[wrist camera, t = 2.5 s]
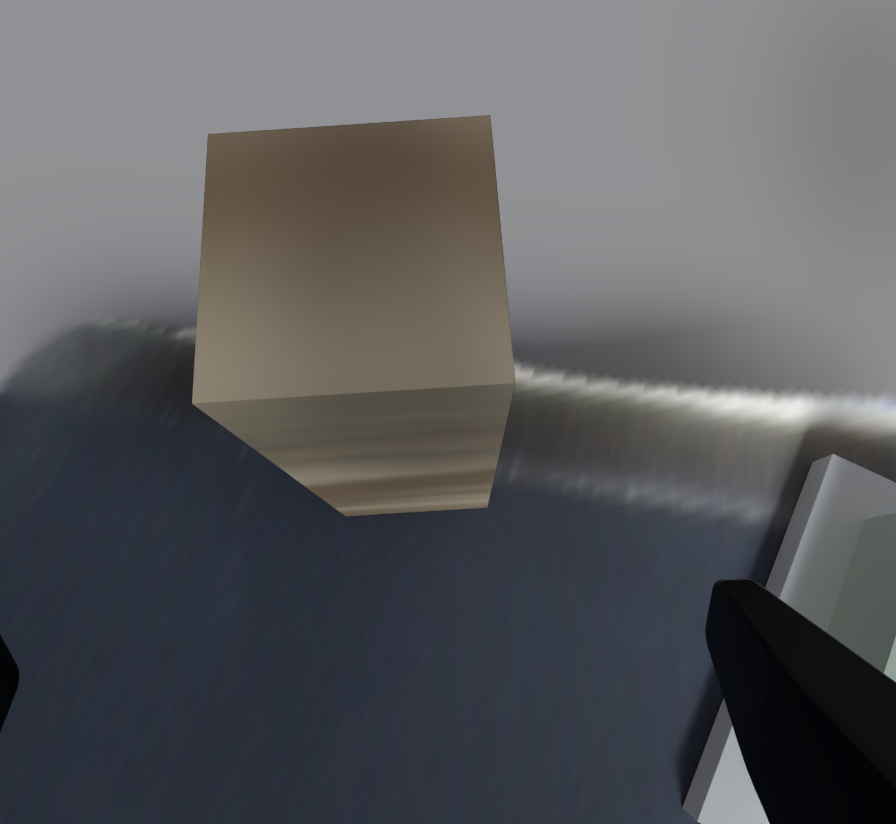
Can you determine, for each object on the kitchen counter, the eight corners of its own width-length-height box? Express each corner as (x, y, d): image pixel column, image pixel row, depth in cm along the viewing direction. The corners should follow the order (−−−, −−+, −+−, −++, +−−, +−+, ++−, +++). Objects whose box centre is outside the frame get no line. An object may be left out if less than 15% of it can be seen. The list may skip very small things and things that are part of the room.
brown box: (487, 507, 20) (515, 383, 9) (345, 516, 20) (192, 403, 9) (477, 373, 22) (490, 115, 10) (343, 382, 22) (208, 133, 10)
